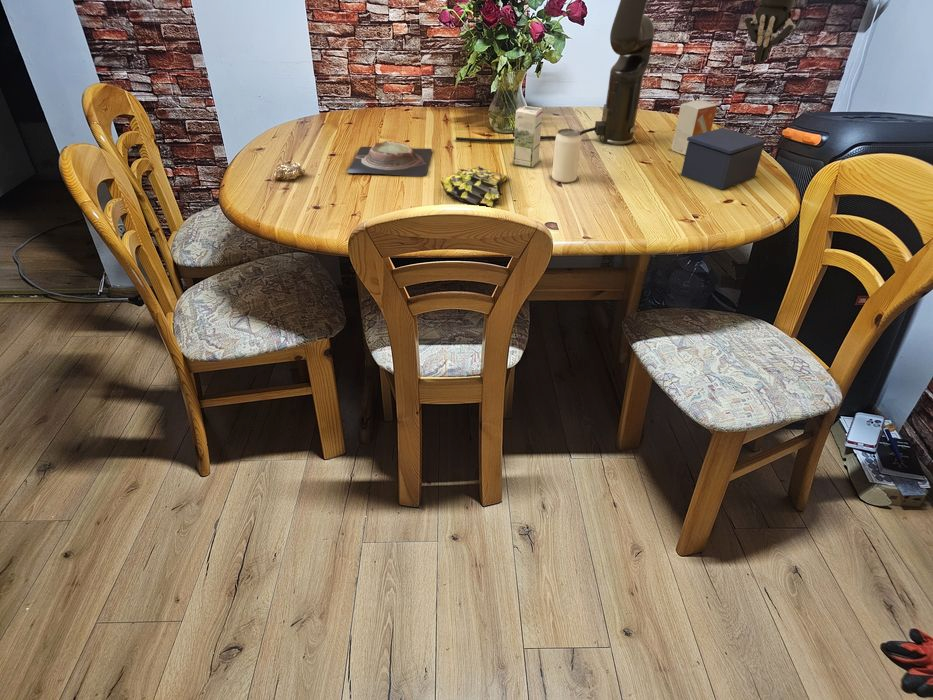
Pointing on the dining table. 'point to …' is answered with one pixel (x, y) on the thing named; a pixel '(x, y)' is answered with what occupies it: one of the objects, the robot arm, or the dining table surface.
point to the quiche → (391, 160)
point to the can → (566, 155)
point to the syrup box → (527, 136)
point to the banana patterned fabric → (474, 186)
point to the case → (720, 165)
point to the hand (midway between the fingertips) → (759, 62)
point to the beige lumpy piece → (288, 171)
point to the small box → (692, 122)
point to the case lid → (726, 140)
